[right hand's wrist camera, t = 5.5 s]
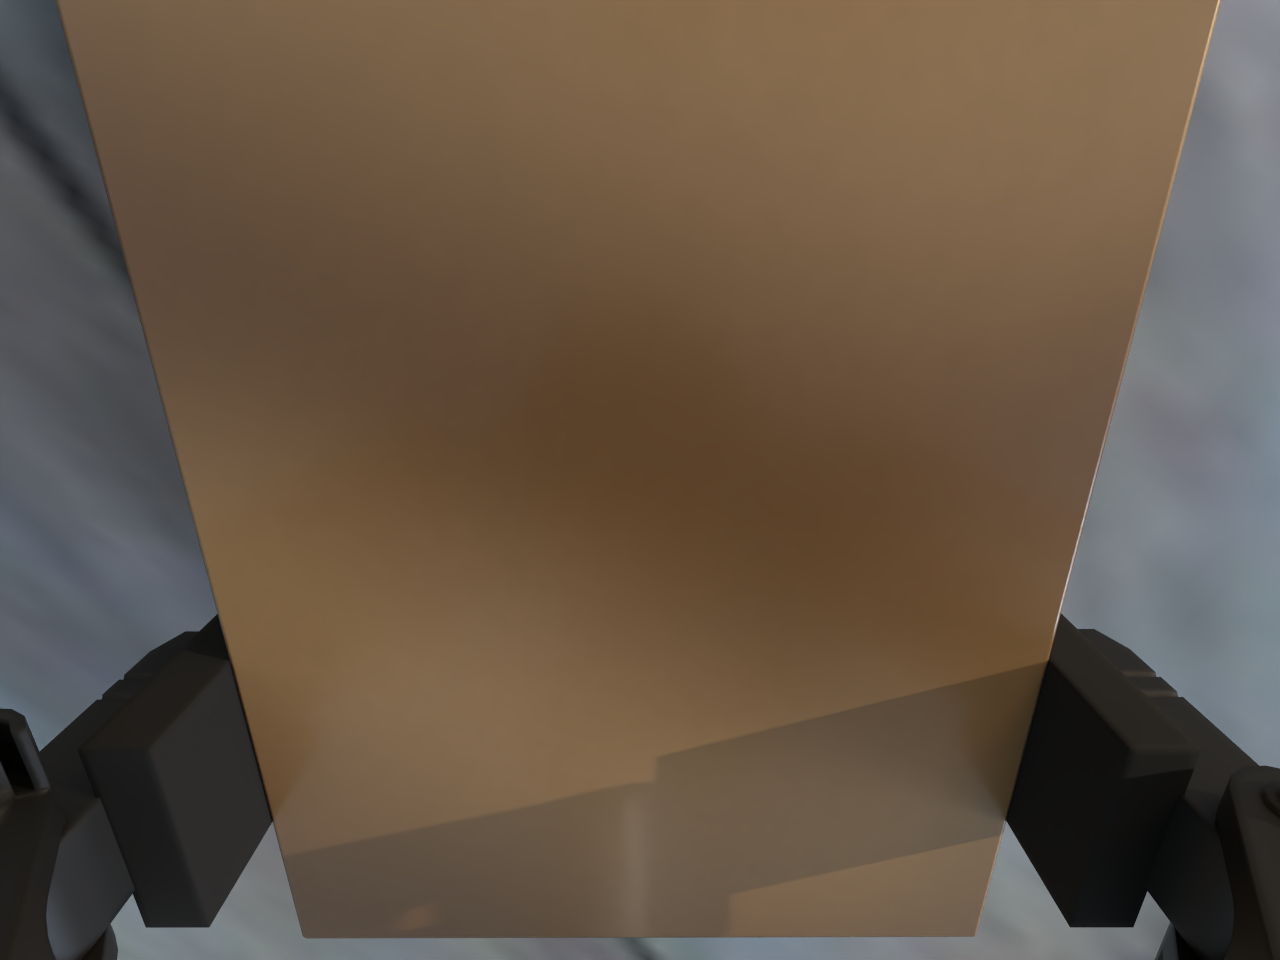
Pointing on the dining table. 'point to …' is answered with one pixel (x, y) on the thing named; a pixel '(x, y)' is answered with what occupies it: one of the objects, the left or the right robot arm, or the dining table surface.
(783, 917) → the cabinet
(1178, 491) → the dining table surface
